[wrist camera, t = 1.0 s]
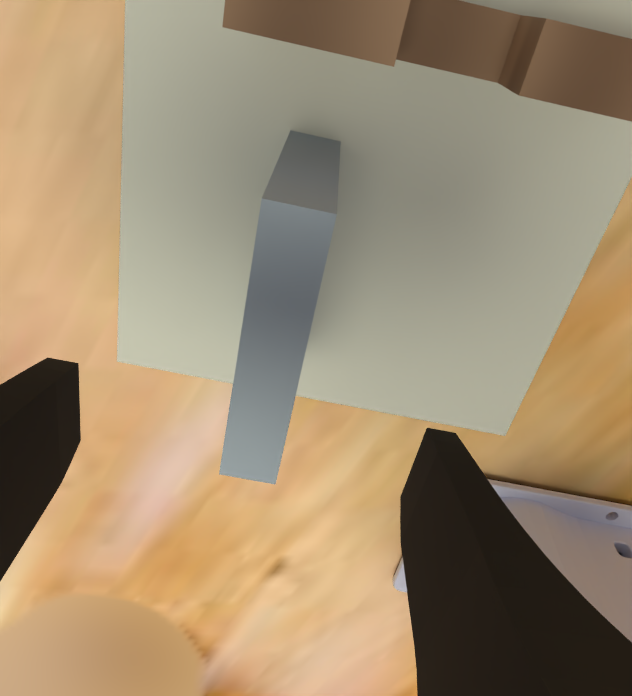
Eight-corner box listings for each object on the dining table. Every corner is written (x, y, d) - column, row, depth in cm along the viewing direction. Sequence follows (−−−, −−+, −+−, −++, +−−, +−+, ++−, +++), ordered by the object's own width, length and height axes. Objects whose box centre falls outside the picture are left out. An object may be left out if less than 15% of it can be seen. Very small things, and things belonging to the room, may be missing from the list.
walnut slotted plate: (640, 45, 16) (717, 58, 13) (614, 104, 17) (679, 132, 14) (256, -47, 16) (230, -57, 12) (248, 20, 16) (222, 27, 13)
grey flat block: (340, 141, 18) (336, 214, 12) (294, 352, 22) (275, 484, 16) (290, 130, 18) (261, 198, 12) (254, 344, 22) (219, 474, 16)
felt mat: (786, -153, 14) (794, -155, 14) (503, 431, 24) (505, 435, 24) (136, -326, 13) (132, -332, 13) (119, 357, 23) (117, 361, 23)
